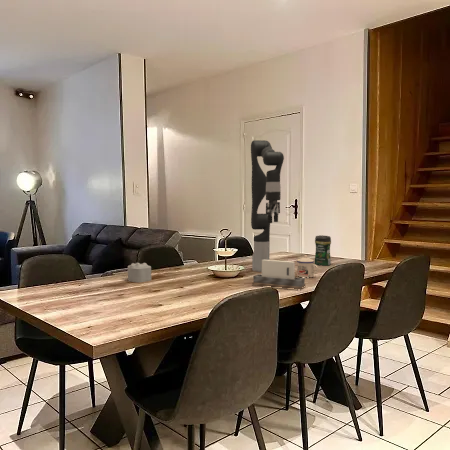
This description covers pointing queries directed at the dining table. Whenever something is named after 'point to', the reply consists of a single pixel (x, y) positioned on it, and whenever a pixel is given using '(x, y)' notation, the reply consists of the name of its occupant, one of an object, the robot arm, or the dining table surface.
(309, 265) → the teacup with lid
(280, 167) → the robot arm
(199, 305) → the dining table surface
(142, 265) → the lumpy-topped squat cylinder
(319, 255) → the coffee jar
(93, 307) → the dining table surface
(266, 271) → the door panel
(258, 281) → the door track
